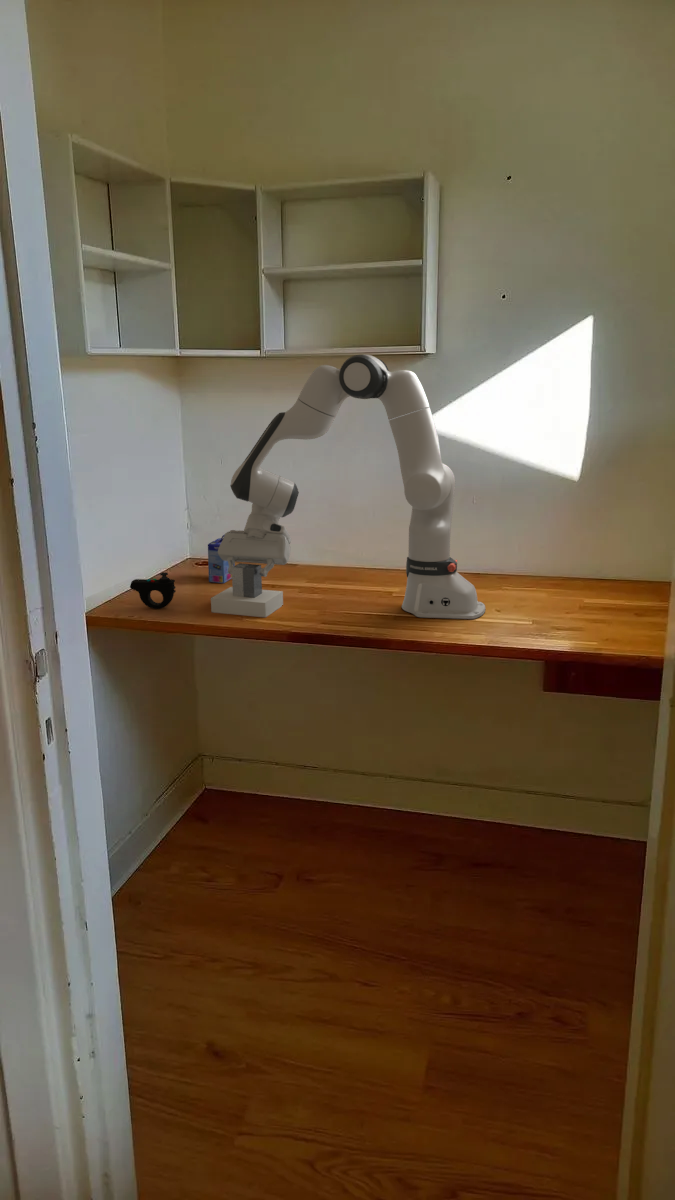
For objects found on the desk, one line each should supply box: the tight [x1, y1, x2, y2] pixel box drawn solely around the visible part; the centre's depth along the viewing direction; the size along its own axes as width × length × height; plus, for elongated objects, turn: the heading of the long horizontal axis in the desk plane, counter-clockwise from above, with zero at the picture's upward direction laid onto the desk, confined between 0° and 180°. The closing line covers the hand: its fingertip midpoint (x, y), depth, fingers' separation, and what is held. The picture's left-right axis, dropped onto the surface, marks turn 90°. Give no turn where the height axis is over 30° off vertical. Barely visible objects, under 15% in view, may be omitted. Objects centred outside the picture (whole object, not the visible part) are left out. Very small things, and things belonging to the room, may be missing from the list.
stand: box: [210, 586, 284, 618], centre depth 231 cm, size 16×12×4 cm
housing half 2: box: [243, 563, 263, 598], centre depth 229 cm, size 3×5×8 cm, turn 161°
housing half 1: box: [231, 562, 251, 597], centre depth 230 cm, size 3×5×8 cm, turn 161°
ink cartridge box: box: [207, 533, 236, 584], centre depth 261 cm, size 10×6×14 cm, turn 166°
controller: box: [129, 572, 177, 610], centre depth 232 cm, size 4×12×10 cm, turn 84°
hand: (246, 574), depth 229 cm, fingers open, 8 cm apart
